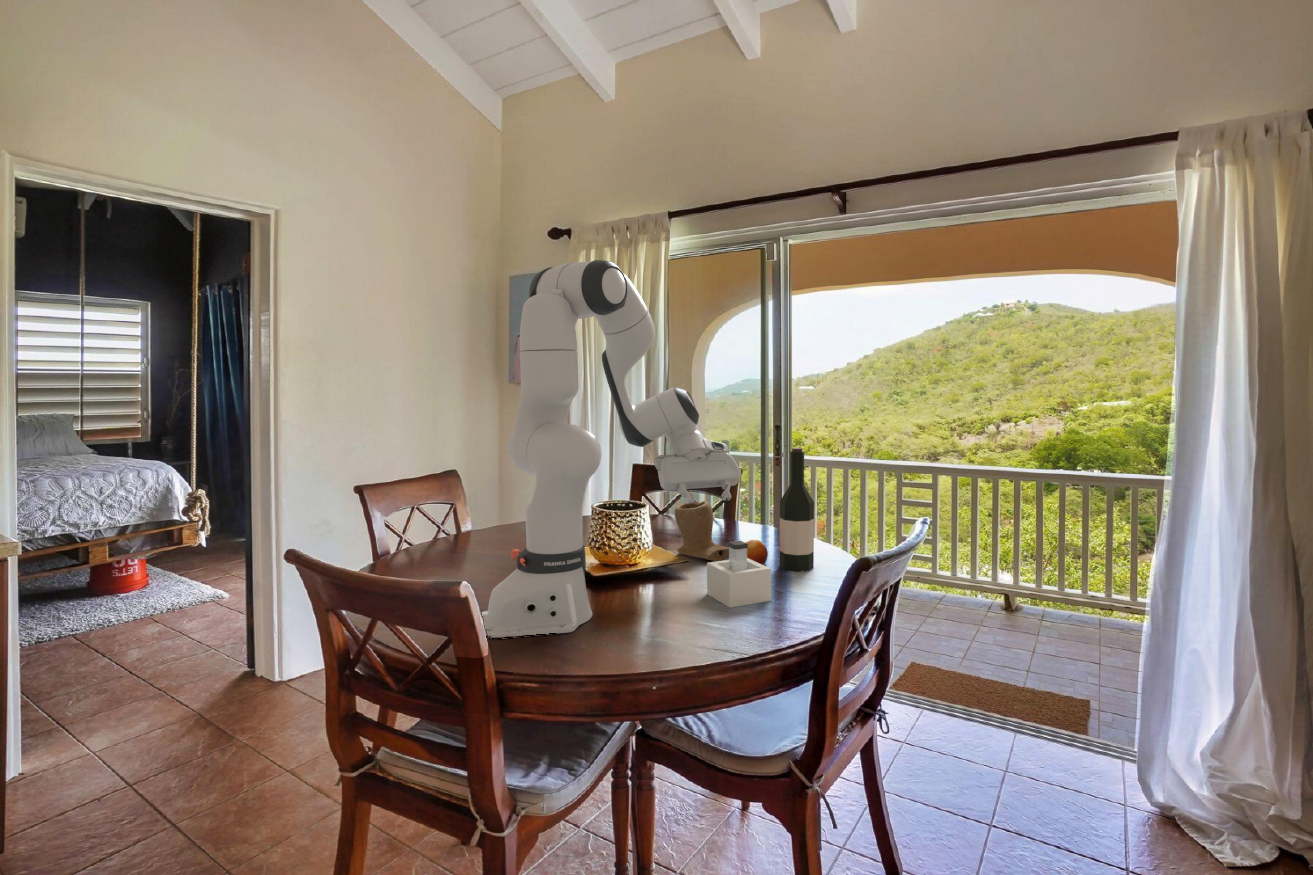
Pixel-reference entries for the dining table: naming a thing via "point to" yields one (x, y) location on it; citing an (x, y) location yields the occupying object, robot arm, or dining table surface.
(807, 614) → the dining table surface
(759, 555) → the fruit
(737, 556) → the capped white pillar
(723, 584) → the holder
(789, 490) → the wine bottle
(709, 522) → the brown boot
